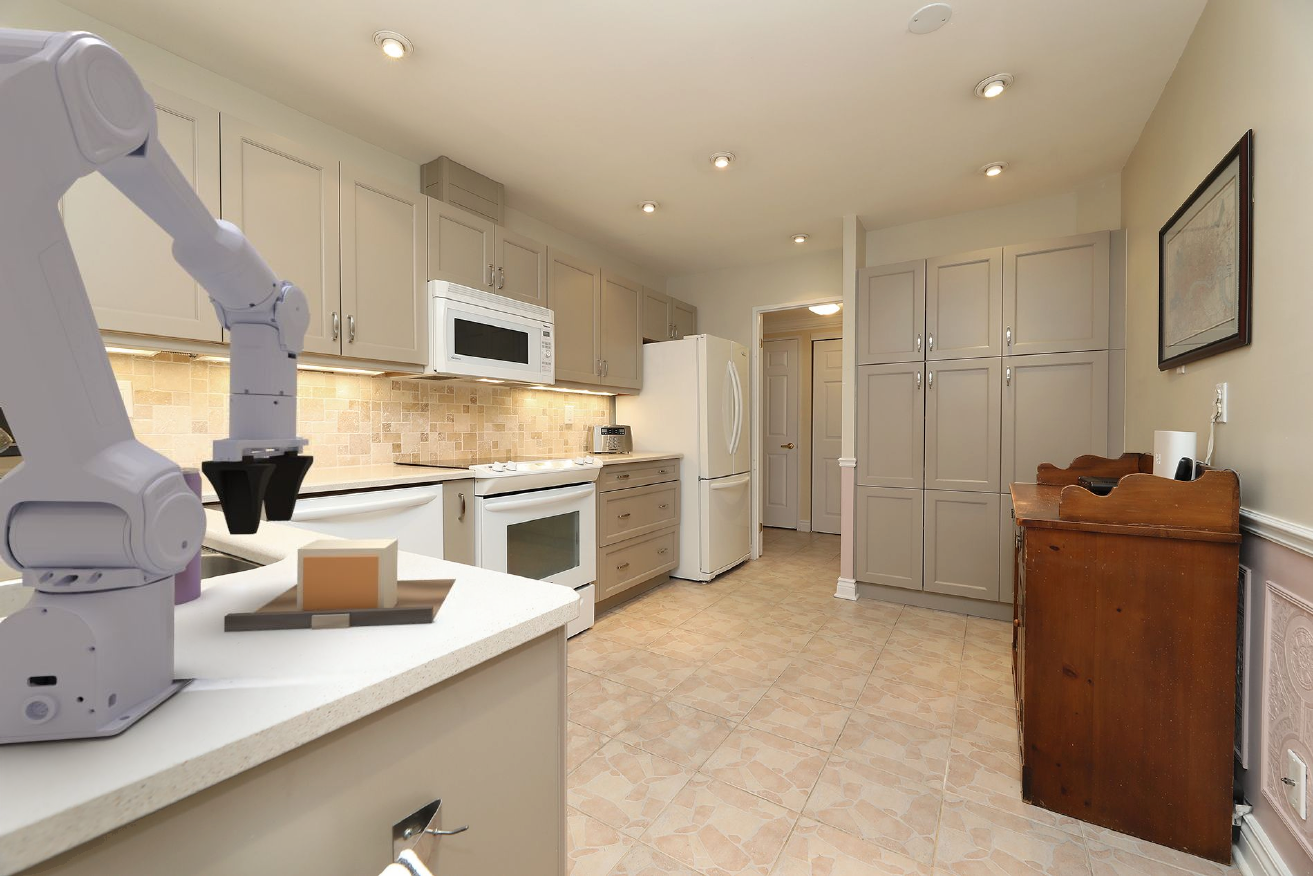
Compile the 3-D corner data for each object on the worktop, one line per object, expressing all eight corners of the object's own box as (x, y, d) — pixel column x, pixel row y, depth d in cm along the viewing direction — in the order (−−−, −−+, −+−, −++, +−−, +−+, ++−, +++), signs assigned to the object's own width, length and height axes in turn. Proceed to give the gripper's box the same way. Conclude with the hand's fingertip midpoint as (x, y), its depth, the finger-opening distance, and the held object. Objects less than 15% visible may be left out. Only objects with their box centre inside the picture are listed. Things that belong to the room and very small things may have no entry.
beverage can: (214, 601, 63) (216, 468, 63) (163, 619, 57) (164, 472, 57) (166, 598, 64) (167, 466, 63) (110, 616, 58) (111, 470, 57)
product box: (383, 618, 56) (384, 548, 56) (295, 620, 55) (296, 549, 55) (396, 603, 61) (397, 539, 61) (316, 605, 60) (317, 539, 59)
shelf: (430, 634, 55) (431, 609, 55) (222, 643, 51) (222, 617, 51) (455, 586, 71) (456, 567, 71) (298, 591, 67) (298, 571, 67)
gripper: (274, 393, 52) (272, 540, 52) (332, 400, 66) (330, 515, 66) (186, 390, 50) (185, 541, 51) (264, 398, 65) (263, 515, 65)
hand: (262, 526), depth 58 cm, fingers open, 7 cm apart
